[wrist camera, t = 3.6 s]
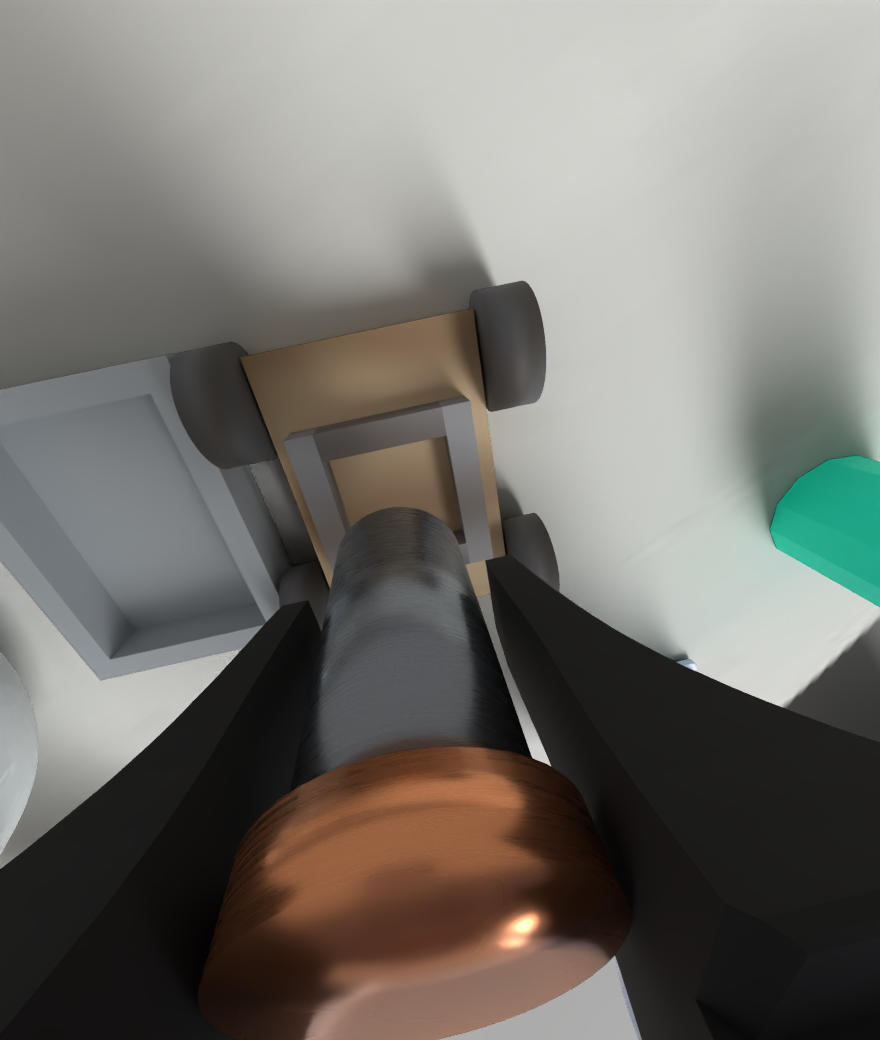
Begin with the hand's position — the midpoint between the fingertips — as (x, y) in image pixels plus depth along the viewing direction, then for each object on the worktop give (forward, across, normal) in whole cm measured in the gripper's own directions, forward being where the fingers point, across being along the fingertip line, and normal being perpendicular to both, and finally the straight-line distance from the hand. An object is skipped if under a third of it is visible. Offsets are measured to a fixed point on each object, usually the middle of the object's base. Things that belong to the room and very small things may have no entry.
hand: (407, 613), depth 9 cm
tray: (+9, +10, -1) cm, 14 cm away
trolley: (+9, 0, 0) cm, 9 cm away
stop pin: (+2, 0, 0) cm, 2 cm away
